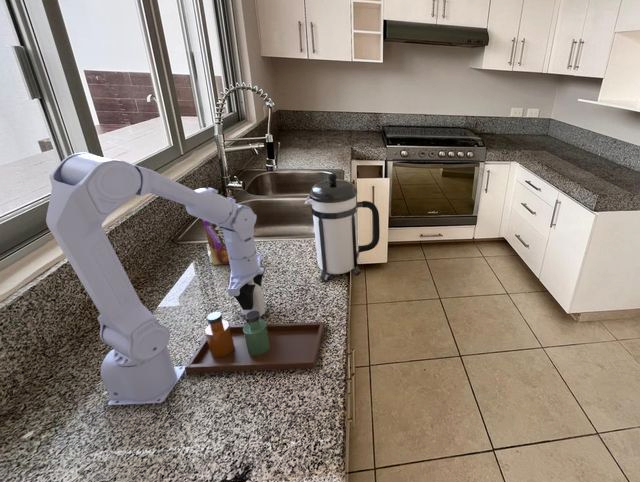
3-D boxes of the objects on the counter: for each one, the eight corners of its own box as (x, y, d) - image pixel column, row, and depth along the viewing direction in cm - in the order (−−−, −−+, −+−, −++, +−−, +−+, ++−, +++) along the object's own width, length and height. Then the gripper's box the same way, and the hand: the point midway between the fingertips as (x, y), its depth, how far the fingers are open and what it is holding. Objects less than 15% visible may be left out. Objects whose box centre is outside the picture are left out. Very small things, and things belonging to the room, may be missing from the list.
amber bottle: (206, 358, 70) (197, 323, 67) (216, 342, 75) (208, 308, 71) (228, 357, 71) (220, 322, 67) (237, 341, 75) (230, 308, 72)
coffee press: (344, 290, 93) (337, 187, 82) (302, 273, 101) (290, 175, 89) (381, 262, 107) (379, 170, 96) (342, 248, 115) (336, 161, 103)
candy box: (248, 256, 109) (240, 212, 103) (244, 263, 105) (235, 217, 99) (218, 257, 107) (208, 213, 102) (212, 265, 103) (201, 219, 98)
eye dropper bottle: (257, 304, 87) (249, 263, 83) (268, 314, 84) (261, 272, 80) (239, 312, 84) (230, 271, 80) (250, 323, 81) (241, 280, 76)
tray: (186, 375, 67) (184, 367, 66) (215, 332, 78) (213, 325, 77) (314, 370, 69) (313, 362, 68) (325, 329, 80) (324, 322, 79)
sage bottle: (244, 356, 71) (236, 322, 68) (252, 341, 75) (245, 307, 72) (266, 356, 71) (259, 321, 68) (273, 340, 75) (267, 307, 72)
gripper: (248, 270, 71) (257, 322, 76) (270, 238, 85) (278, 284, 90) (212, 271, 71) (225, 323, 76) (241, 238, 84) (250, 284, 89)
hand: (251, 302), depth 83 cm, fingers open, 4 cm apart
